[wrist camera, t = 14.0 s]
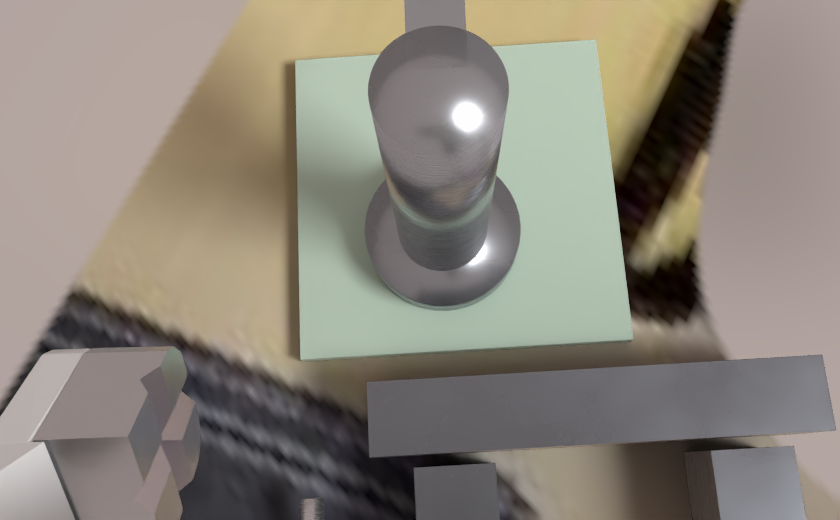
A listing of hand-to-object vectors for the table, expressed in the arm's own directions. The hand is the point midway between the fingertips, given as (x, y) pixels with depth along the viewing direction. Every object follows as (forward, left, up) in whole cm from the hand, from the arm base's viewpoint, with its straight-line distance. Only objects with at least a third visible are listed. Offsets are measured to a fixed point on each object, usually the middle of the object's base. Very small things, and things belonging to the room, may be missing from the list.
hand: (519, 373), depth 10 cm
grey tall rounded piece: (+1, -7, -19) cm, 20 cm away
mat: (0, -9, -19) cm, 21 cm away
